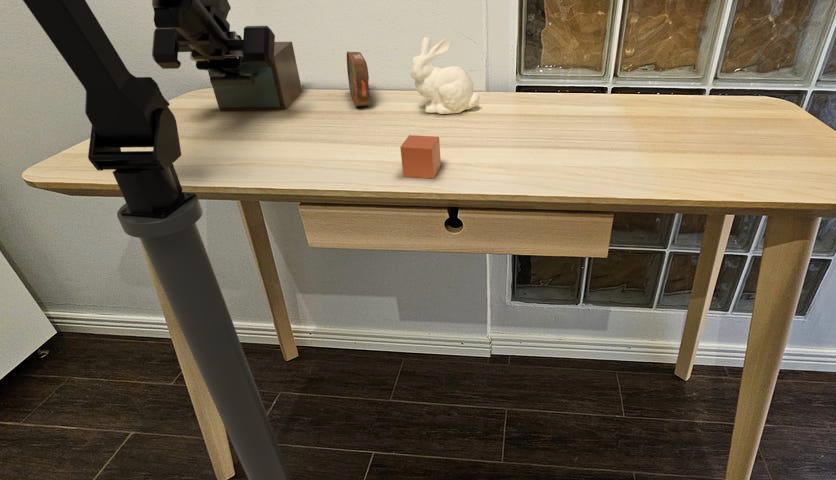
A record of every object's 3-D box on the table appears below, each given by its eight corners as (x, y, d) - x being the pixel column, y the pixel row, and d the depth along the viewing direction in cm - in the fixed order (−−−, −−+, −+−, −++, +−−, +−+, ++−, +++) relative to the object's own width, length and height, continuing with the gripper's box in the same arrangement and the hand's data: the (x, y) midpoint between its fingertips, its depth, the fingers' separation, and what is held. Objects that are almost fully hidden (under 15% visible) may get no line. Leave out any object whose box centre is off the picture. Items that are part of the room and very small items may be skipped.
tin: (348, 90, 110) (342, 47, 106) (364, 88, 111) (358, 45, 106) (357, 113, 99) (350, 65, 94) (374, 111, 99) (368, 64, 95)
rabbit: (411, 115, 97) (405, 45, 90) (421, 99, 105) (416, 33, 98) (477, 116, 96) (476, 45, 89) (482, 100, 104) (482, 34, 97)
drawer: (271, 115, 96) (260, 70, 91) (208, 116, 96) (194, 71, 91) (295, 90, 108) (286, 49, 103) (239, 90, 108) (228, 50, 103)
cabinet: (285, 109, 101) (273, 56, 95) (219, 110, 101) (203, 57, 95) (302, 91, 110) (292, 41, 105) (241, 91, 110) (228, 42, 105)
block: (433, 178, 75) (431, 148, 73) (403, 176, 76) (400, 146, 74) (441, 165, 79) (439, 136, 76) (411, 163, 80) (409, 134, 77)
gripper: (255, -31, 81) (292, 31, 96) (132, -29, 81) (188, 32, 96) (251, 37, 79) (289, 89, 94) (126, 39, 79) (184, 90, 94)
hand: (237, 73), depth 95 cm, fingers closed, pressing on drawer
